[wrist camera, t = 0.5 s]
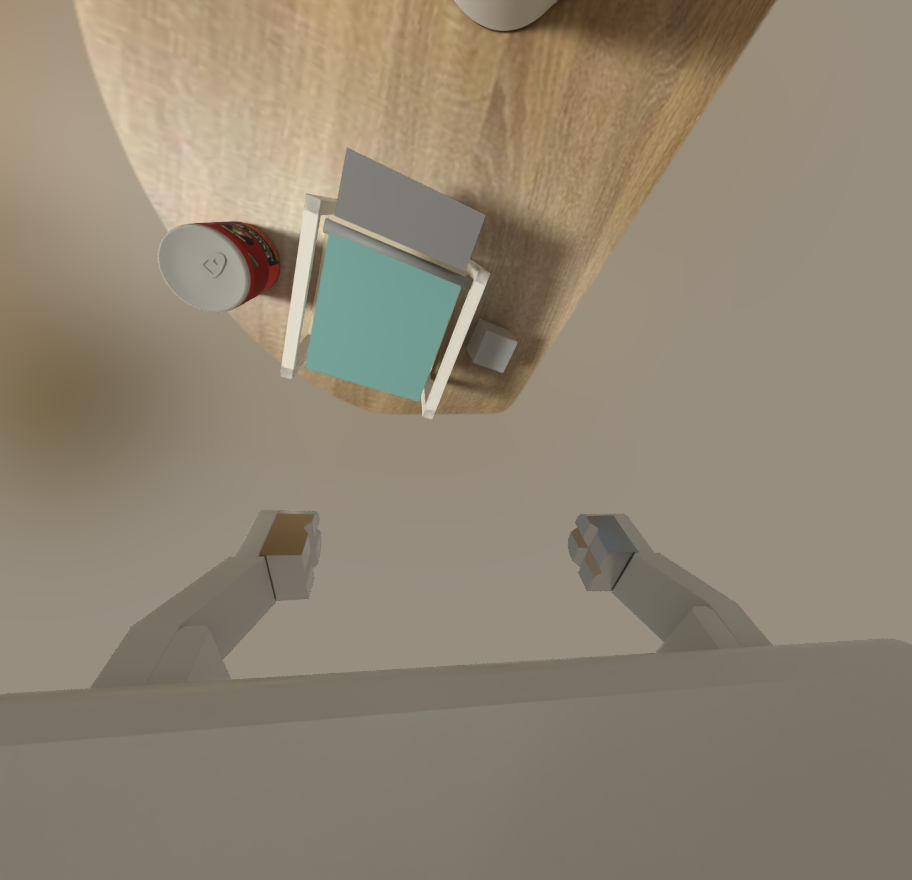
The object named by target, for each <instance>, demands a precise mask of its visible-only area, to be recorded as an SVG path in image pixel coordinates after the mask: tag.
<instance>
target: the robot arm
mask: <svg viewBox="0 0 912 880" xmlns="http://www.w3.org/2000/svg"><path fill="white" fill-rule="evenodd" d="M454 1H455V3H456V4H457V5H458V7H459V8H460V9H461V10H462V11H463V12H464V13H465V14H466V15H467V16H468V17H470V18H471V19H472V20H474V21H475V22H477V23H478V24H480V25H482V26H484V27H487V28H489V29H493V30H499V31H509V30H515V29H519V28H522V27H524V26H526V25H528V24H530V23H532V22H534V21H535V20H537V19H538V18H539V17H540V16H542V15H543V14H544V13H545V12H546V11H547V10H548V9H549V8H550V7H551V6H552V5H553V4H555V3H556V2H557V1H558V0H454ZM575 523H576V525H577V528H576V529H574V530H573V531H572V532H571V533H570V536H569V539H568V549H569V553H570V556H571V558H572V561H573V562H575V563H576V564H577V565H578V566H580V568H579V572H578V573H579V575H580V577H581V579H582V581H583V583H584V585H585V588H586V590H587V591H612V593H613V594H614V595H615V596H616V597H617V598H618V599H619V600H620V601H621V602H622V603H623V604H625V605H626V606H627V607H628V608H629V609H630V610H631V611H632V612H633V613H634V614H635V615H636V616H637V617H638V618H639V619H640V620H641V621H642V622H643V623H644V624H646V625H647V626H648V627H649V628H650V629H651V630H652V631H653V632H654V633H655V634H656V635H657V636H658V637H659V638H660V639H661V640H662V641H663V642H664V643H663V644H662V645H661V647H660V648H659V649H658V650H657V651H656V653H649V654H648V653H647V654H632V655H615V656H600V657H583V658H567V659H551V660H535V661H518V662H503V663H489V664H488V663H487V664H471V665H456V666H440V667H424V668H410V669H409V668H408V669H393V670H377V671H361V672H345V673H329V674H313V675H298V676H282V677H266V678H251V679H250V678H249V679H233V680H231V678H230V675H229V673H228V671H227V669H226V666H225V664H224V662H223V659H224V658H225V657H226V656H227V655H228V654H229V653H230V652H231V650H232V649H233V648H234V647H235V646H236V645H237V644H238V643H239V642H240V640H242V638H243V637H244V636H245V635H246V634H247V633H248V632H249V631H250V630H251V629H252V628H253V627H254V625H256V623H257V622H258V621H259V620H260V619H261V618H262V617H263V616H264V615H265V614H266V613H267V612H268V610H269V609H270V608H271V607H272V606H273V605H274V604H275V603H276V602H275V601H281V600H299V599H309V595H310V592H311V588H312V584H313V580H314V572H313V568H314V567H315V566H316V565H317V564H318V561H319V557H320V550H321V532H320V531H319V530H318V529H317V528H318V524H319V516H318V512H317V511H291V510H280V511H279V510H261V511H260V512H259V513H258V514H257V515H256V517H255V519H254V521H253V523H252V525H251V527H250V529H249V531H248V533H247V535H246V537H245V539H244V541H243V543H242V545H241V547H240V549H239V551H238V552H237V554H236V556H235V557H228V558H227V559H226V560H224V561H223V562H221V563H220V564H219V565H218V566H216V567H214V568H213V569H212V570H210V571H209V572H207V573H206V574H204V575H203V576H202V577H200V578H199V579H198V580H196V581H195V582H193V583H192V584H190V585H189V586H188V587H186V588H185V589H184V590H182V591H181V592H179V593H178V594H176V595H175V596H174V597H172V598H171V599H170V600H168V601H167V602H165V603H164V604H162V605H161V606H160V607H158V608H157V609H155V610H154V611H153V612H151V613H150V614H148V615H147V616H146V617H144V618H143V619H141V620H140V621H138V622H137V623H136V624H134V625H133V626H132V627H131V628H130V630H129V631H128V633H127V634H126V636H125V637H124V639H123V640H122V641H121V643H120V644H119V646H118V648H117V649H116V650H115V652H114V653H113V655H112V656H111V658H110V659H109V661H108V662H107V664H106V665H105V667H104V668H103V670H102V671H101V673H100V674H99V676H98V677H97V679H96V680H95V681H94V683H93V685H92V686H91V688H88V689H71V690H55V691H38V692H24V693H7V694H0V880H912V645H911V644H909V643H907V642H903V641H901V640H895V639H869V640H855V641H838V642H824V643H823V642H822V643H806V644H790V645H775V646H773V645H772V644H771V643H770V642H769V640H768V639H767V638H766V637H765V636H764V635H763V633H762V632H761V631H760V630H759V629H758V627H757V626H756V625H755V624H754V623H753V622H752V620H751V619H750V618H749V617H748V616H747V614H746V613H745V612H744V611H743V610H742V609H741V607H740V606H739V605H738V604H737V603H736V602H734V601H732V600H731V599H729V598H728V597H726V596H725V595H723V594H722V593H720V592H719V591H717V590H715V589H714V588H712V587H711V586H709V585H708V584H706V583H705V582H703V581H702V580H700V579H698V578H697V577H696V576H694V575H692V574H691V573H689V572H688V571H686V570H685V569H683V568H682V567H680V566H678V565H677V564H676V563H674V562H672V561H671V560H669V559H668V558H666V557H665V556H663V555H661V554H660V553H654V551H653V550H652V548H651V547H650V546H649V545H648V543H647V542H646V540H645V539H644V538H643V536H642V535H641V533H640V532H639V531H638V529H637V528H636V527H635V525H634V524H633V523H632V521H631V520H630V519H629V517H628V516H627V515H625V514H580V515H579V516H578V517H577V519H576V522H575Z"/></svg>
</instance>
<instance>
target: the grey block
mask: <svg viewBox="0 0 912 880" xmlns="http://www.w3.org/2000/svg"><path fill="white" fill-rule="evenodd" d="M517 343H518V342H517V340H516V339H515V338H514V337H513V336H512V334H511V333H510V332H509V331H508V330H507V329H505V328H503V327H500V326H497V325H495V324H492V323H490V322H487V321H485V320H482V319H478V322H477V324H476V326H475V329H474V331H473V334H472V336H471V339H470V341H469V343H468V346H467V351H468V353H469V355H470V358H471V360H472V362H473V363H475V364H478V365H480V366H483V367H486V368H489V369H492V370H495V371H498V372H501V373H503V372H504V370H505V368H506V366H507V364H508V362H509V360H510V358H511V356H512V354H513V352H514V350H515V348H516V345H517Z"/></svg>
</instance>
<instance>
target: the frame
mask: <svg viewBox="0 0 912 880" xmlns="http://www.w3.org/2000/svg"><path fill="white" fill-rule="evenodd" d="M336 205H337V200H335V199H333V198H329V197H323V196H317V195H312V194H306V199H305V206H304V213H303V219H302V226H301V233H300V240H299V247H298V254H297V261H296V268H295V275H294V282H293V289H292V296H291V303H290V310H289V317H288V324H287V331H286V338H285V345H284V352H283V359H282V366H281V373H280V376H281V377H284V378H288V379H292V378H293V377H294V376H295V374H296V373H297V371H298V370H299V368H300V367H301V365H302V364H303V363H304V361H305V360H306V358H307V353H308V347H309V341H310V336H311V330H312V325H313V319H314V313H315V308H316V302H317V297H318V291H319V286H320V280H321V274H322V269H323V263H324V258H325V252H326V246H327V241H328V235H329V234H326V233H325V239H324V245H323V250H322V256H321V262H320V268H319V273H318V279H317V285H316V290H315V296H314V302H313V308H312V313H311V319H310V325H309V330H308V335H307V336H306V337H305V338H304V339H303V341H302V342H301V343H300V337H301V331H302V325H303V319H304V313H305V307H306V301H307V295H308V289H309V283H310V277H311V271H312V265H313V259H314V252H315V246H316V240H317V234H318V228H319V222H320V216H321V215H329V216H328V219H330V220H332V221H335V222H337V223H339V224H342V225H344V226H346V227H349V228H351V229H353V230H356V231H358V232H361V233H363V234H365V235H368V236H370V237H372V238H375V239H377V240H380V241H382V242H384V243H387V244H389V245H391V246H394V247H396V248H398V249H401V250H403V251H406V252H408V253H410V254H413V255H415V256H417V257H420V258H422V259H425V260H427V261H429V262H432V263H434V264H436V265H439V266H441V267H444V268H446V269H448V270H451V271H453V272H455V273H458V274H460V275H462V276H465V277H466V276H467V274H468V275H469V276H470V277H471V278H472V279H473V282H472V285H471V287H470V290H469V292H468V295H467V298H466V300H465V303H464V306H463V308H462V311H461V313H460V316H459V319H458V321H457V324H456V326H455V329H454V332H453V334H452V337H451V339H450V342H449V345H448V347H447V350H446V353H445V355H444V358H443V360H442V363H441V366H440V368H439V371H438V373H437V376H436V379H435V381H434V384H433V386H432V384H431V377H430V373H431V370H432V367H433V365H434V362H435V359H436V357H435V359H434V362H433V365H432V367H431V370H430V373H429V375H428V378H427V381H426V384H425V386H424V389H423V392H422V394H421V400H422V414H423V417H425V418H429V419H432V418H433V415H434V413H435V410H436V408H437V405H438V403H439V400H440V398H441V395H442V393H443V391H444V388H445V386H446V383H447V381H448V378H449V376H450V373H451V371H452V368H453V366H454V363H455V361H456V358H457V356H458V353H459V351H460V348H461V346H462V343H463V341H464V338H465V336H466V333H467V331H468V328H469V326H470V323H471V321H472V318H473V316H474V313H475V311H476V309H477V306H478V304H479V301H480V299H481V296H482V294H483V291H484V289H485V286H486V284H487V281H488V279H489V276H490V273H489V272H488V271H486V270H485V269H484V268H482V267H481V266H480V265H478V264H477V263H476V262H474V261H473V260H472V259H470V260H469V263H468V265H467V268H466V271H463V270H460V269H458V268H456V267H453V266H451V265H449V264H446V263H444V262H441V261H439V260H437V259H434V258H432V257H430V256H427V255H425V254H423V253H420V252H418V251H416V250H413V249H411V248H409V247H406V246H404V245H402V244H399V243H397V242H395V241H392V240H390V239H388V238H385V237H383V236H381V235H378V234H376V233H374V232H371V231H369V230H367V229H364V228H362V227H359V226H357V225H355V224H352V223H350V222H348V221H345V220H343V219H341V218H338V217H336V216H335V210H336ZM460 292H461V289H460ZM460 292H459V294H458V297H459V295H460ZM458 297H457V300H458ZM457 300H456V303H457ZM456 303H455V305H456ZM455 305H454V308H455ZM454 308H453V311H454ZM453 311H452V313H453ZM452 313H451V316H452ZM451 316H450V319H451ZM450 319H449V321H450ZM449 321H448V324H449ZM448 324H447V327H448ZM447 327H446V330H447ZM446 330H445V332H446ZM445 332H444V335H445ZM444 335H443V338H444ZM443 338H442V340H443ZM442 340H441V343H442ZM299 343H300V344H299ZM441 343H440V346H441ZM440 346H439V348H440ZM439 348H438V351H439ZM438 351H437V354H438ZM437 354H436V356H437Z"/></svg>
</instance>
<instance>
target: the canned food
mask: <svg viewBox="0 0 912 880" xmlns="http://www.w3.org/2000/svg"><path fill="white" fill-rule="evenodd" d="M157 257H158V265H159V268H160V271H161V274H162V276H163V278H164V280H165V282H166V283H167V285H168V286H169V288H170V289H171V290H172V291H173V292H174V293H175V294H176V295H177V296H178V297H179V298H180V299H181V300H183V301H184V302H185V303H187V304H189V305H190V306H192V307H194V308H197V309H200V310H202V311H206V312H215V313H219V312H225V311H229V310H232V309H234V308H236V307H238V306H240V305H242V304H244V303H246V302H247V301H249V300H251V299H253V298H254V297H256V296H258V295H260V294H261V293H263V292H265V291H266V290H268V289H269V288H271V287H272V286H273V284H274V283H275V282H276V280H277V278H278V274H279V265H280V264H279V257H278V254H277V251H276V249H275V247H274V245H273V244H272V242H271V241H270V240H269V238H268V237H267V236H266V235H265V234H264V233H262V232H261V231H260V230H258V229H257V228H256V227H254V226H251V225H249V224H246V223H243V222H211V223H194V224H186V225H181V226H178V227H176V228H173V229H171V230H170V231H169V232H168V233H166V234H165V236H164V237H163V238H162V240H161V242H160V245H159V247H158V256H157Z"/></svg>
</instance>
